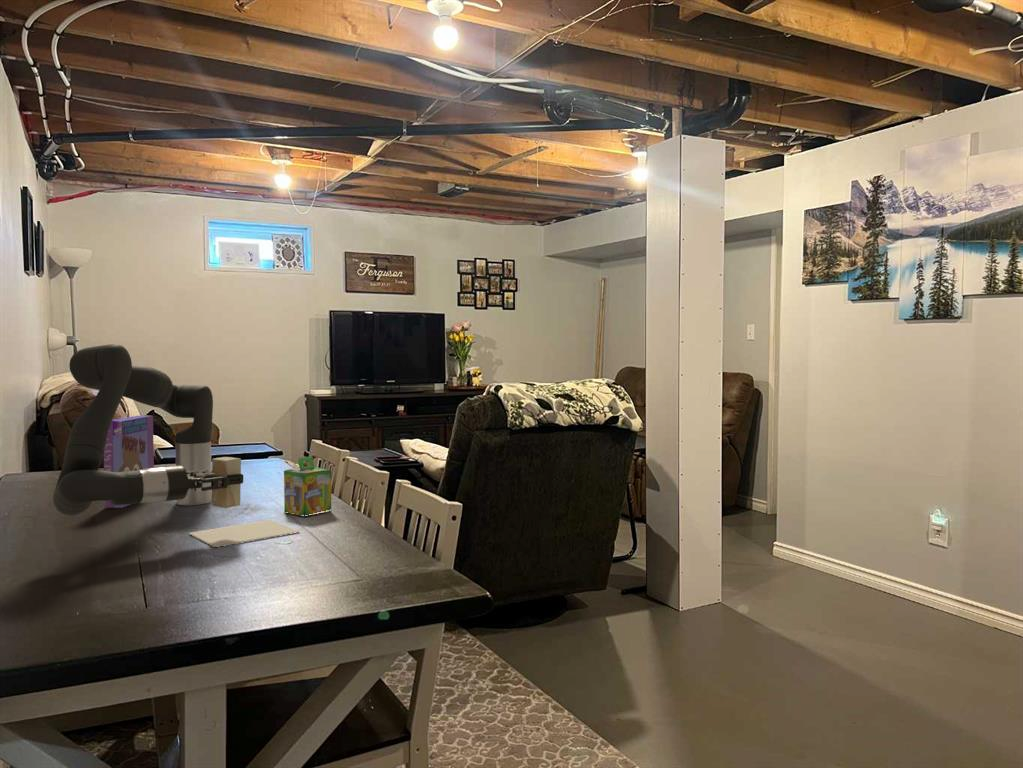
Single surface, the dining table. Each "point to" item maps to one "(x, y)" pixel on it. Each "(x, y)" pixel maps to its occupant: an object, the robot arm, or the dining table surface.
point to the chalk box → (307, 489)
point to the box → (232, 492)
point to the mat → (242, 533)
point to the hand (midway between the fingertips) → (236, 476)
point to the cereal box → (129, 446)
